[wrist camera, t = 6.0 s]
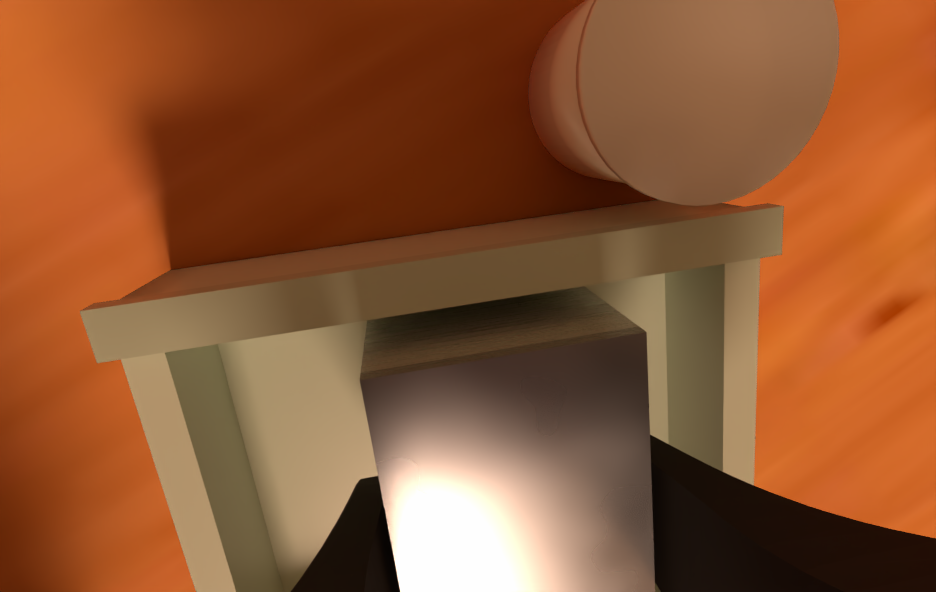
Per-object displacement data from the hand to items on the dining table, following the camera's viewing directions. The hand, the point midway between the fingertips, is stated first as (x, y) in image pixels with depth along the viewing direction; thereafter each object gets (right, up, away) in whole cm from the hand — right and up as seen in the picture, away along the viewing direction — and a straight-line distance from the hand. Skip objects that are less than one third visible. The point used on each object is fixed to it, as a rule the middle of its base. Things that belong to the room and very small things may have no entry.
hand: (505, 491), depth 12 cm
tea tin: (0, +1, +2) cm, 3 cm away
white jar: (+3, +9, +1) cm, 10 cm away
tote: (-1, 0, +3) cm, 3 cm away
